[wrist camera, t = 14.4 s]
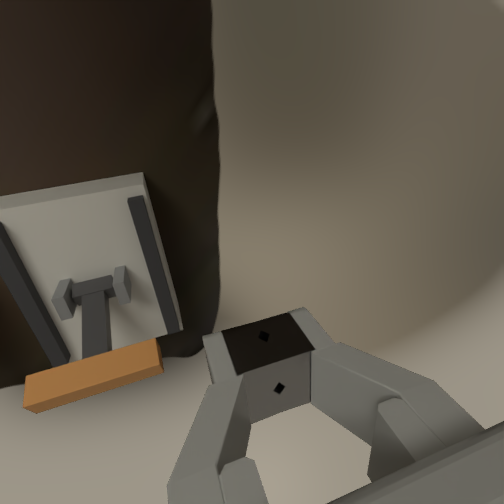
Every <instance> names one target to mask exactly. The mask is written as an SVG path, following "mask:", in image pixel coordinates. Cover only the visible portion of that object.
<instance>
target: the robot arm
mask: <svg viewBox="0 0 504 504" xmlns="http://www.w3.org/2000/svg"><path fill="white" fill-rule="evenodd" d="M202 337H203V343H204V348H205V353H206V358H207V362H208V367H209V371H210V376H211V381H212V385H209V386H208V389H207V391H206V394H205V396H204V398H203V401H202V403H201V405H200V408H199V410H198V412H197V415H196V417H195V420H194V422H193V425H192V427H191V429H190V432H189V434H188V436H187V439H186V441H185V443H184V446H183V448H182V451H181V453H180V455H179V458H178V460H177V463H176V465H175V467H174V470H173V472H172V474H171V477H170V479H169V481H168V484H167V493H168V504H268V501H267V497H266V494H265V491H264V489H263V486H262V482H261V480H260V476H259V473H258V470H257V467H256V464H255V462H254V460H252V459H249V458H247V457H245V456H246V450H247V446H248V440H249V435H250V430H251V424H253V423H255V422H258V421H260V420H263V419H265V418H268V417H270V416H273V415H275V414H277V413H280V412H283V411H286V410H288V409H292V408H295V407H298V406H301V405H303V404H306V403H309V402H311V404H312V405H314V406H315V407H317V408H318V409H319V410H321V411H322V412H324V413H325V414H326V415H328V416H329V417H331V418H332V419H333V420H335V421H336V422H338V423H339V424H341V425H342V426H344V427H345V428H346V429H348V430H349V431H350V432H352V433H353V434H355V435H356V436H358V437H359V438H360V439H362V440H364V441H365V442H367V443H368V444H369V445H370V446H372V448H371V454H370V460H369V466H368V473H367V475H368V477H369V478H370V480H371V482H372V483H370V484H368V485H366V486H363V487H361V488H359V489H357V490H355V491H353V492H350V493H348V494H346V495H344V496H342V497H340V498H338V499H335V500H333V501H331V502H329V503H327V504H504V421H503V422H501V423H499V424H496V425H494V426H492V427H490V428H488V429H486V430H485V429H484V428H483V427H482V426H481V425H480V424H479V423H478V422H477V421H476V420H475V419H474V418H472V417H471V416H470V415H469V414H468V413H467V412H466V411H465V410H464V409H463V408H462V407H461V406H460V405H459V404H458V403H457V402H456V401H454V399H453V398H451V397H450V396H449V395H448V394H447V393H446V392H445V391H444V390H443V389H442V388H441V387H440V386H439V385H438V384H437V383H436V382H435V381H433V380H431V379H429V378H426V377H424V376H421V375H419V374H416V373H414V372H411V371H409V370H406V369H404V368H402V367H399V366H397V365H394V364H392V363H390V362H387V361H385V360H382V359H380V358H377V357H375V356H372V355H370V354H368V353H365V352H363V351H360V350H358V349H355V348H353V347H351V346H348V345H345V344H343V343H341V342H340V343H337V344H335V343H334V342H333V341H332V339H331V338H330V337H329V336H328V334H327V333H326V332H325V331H324V329H323V328H322V327H321V326H320V325H319V323H318V322H317V321H316V320H315V318H314V317H313V316H312V315H311V314H310V312H309V311H308V310H307V309H306V308H304V307H302V308H299V309H295V310H292V311H289V312H287V313H284V314H280V315H277V316H273V317H270V318H266V319H263V320H260V321H256V322H253V323H249V324H245V325H242V326H238V327H234V328H230V329H226V330H222V331H221V332H217V333H212V334H209V335H205V336H202Z"/></svg>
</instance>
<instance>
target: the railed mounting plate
mask: <svg viewBox="0 0 504 504" xmlns="http://www.w3.org/2000/svg"><path fill="white" fill-rule="evenodd" d="M127 203H128V206H129V209H130V212H131V216H132V219H133V222H134V226H135V229H136V232H137V235H138V239H139V242H140V245H141V248H142V252H143V255H144V258H145V261H146V265H147V268H148V271H149V274H150V278H151V281H152V284H153V287H154V291H155V294H156V297H157V300H158V304H159V307H160V310H161V313H162V317H163V320H164V323H165V326H166V330H167V333H168V335H169V334H172V333H176V332H179V331H180V327H179V322H178V319H177V315H176V311H175V308H174V304H173V301H172V297H171V294H170V290H169V286H168V283H167V279H166V276H165V272H164V269H163V265H162V261H161V258H160V254H159V251H158V247H157V244H156V240H155V236H154V233H153V229H152V226H151V222H150V219H149V215H148V211H147V208H146V204H145V201H144V197H143V195H140V196H135V197H129V198H128V200H127ZM0 275H1V277H2V278H3V280H4V282H5V284H6V285H7V287H8V289H9V291H10V292H11V294H12V296H13V298H14V299H15V301H16V303H17V305H18V306H19V308H20V310H21V312H22V313H23V315H24V317H25V319H26V320H27V322H28V324H29V326H30V327H31V329H32V331H33V333H34V334H35V336H36V338H37V339H38V341H39V343H40V345H41V346H42V348H43V350H44V352H45V353H46V355H47V357H48V359H49V360H50V362H51V364H52V366H53V367H54V368H55V367H58V366H62V365H65V364H68V363H69V360H70V357H71V354H70V352H69V351H68V349H67V347H66V345H65V343H64V341H63V339H62V337H61V335H60V333H59V331H58V329H57V328H56V326H55V324H54V322H53V320H52V318H51V316H50V314H49V312H48V310H47V308H46V306H45V305H44V303H43V301H42V299H41V297H40V295H39V293H38V291H37V289H36V287H35V285H34V283H33V282H32V280H31V278H30V276H29V274H28V272H27V270H26V268H25V266H24V264H23V262H22V260H21V259H20V257H19V255H18V253H17V251H16V249H15V247H14V245H13V243H12V241H11V239H10V238H9V236H8V234H7V232H6V230H5V228H4V226H3V224H2V222H0Z"/></svg>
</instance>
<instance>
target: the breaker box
mask: <svg viewBox="0 0 504 504" xmlns="http://www.w3.org/2000/svg"><path fill="white" fill-rule="evenodd" d="M140 195H143V197H144V201H145V204H146V208H147V211H148V215H149V219H150V222H151V226H152V229H153V233H154V236H155V240H156V244H157V247H158V251H159V254H160V258H161V261H162V265H163V269H164V272H165V276H166V279H167V283H168V286H169V290H170V294H171V297H172V301H173V304H174V308H175V311H176V315H177V319H178V322H179V327H180V330H183V326H182V321H181V315H180V310H179V305H178V300H177V297H176V293H175V289H174V286H173V282H172V278H171V275H170V271H169V267H168V263H167V260H166V256H165V252H164V249H163V245H162V241H161V238H160V234H159V230H158V227H157V223H156V219H155V215H154V212H153V208H152V204H151V201H150V197H149V193H148V190H147V186H146V182H145V178H144V175H143V172H140V173H134V174H129V175H123V176H117V177H111V178H105V179H99V180H94V181H88V182H82V183H76V184H70V185H64V186H58V187H53V188H47V189H41V190H35V191H29V192H23V193H17V194H12V195H6V196H0V222H2V224H3V226H4V228H5V230H6V232H7V234H8V236H9V238H10V239H11V241H12V243H13V245H14V247H15V249H16V251H17V253H18V255H19V257H20V259H21V260H22V262H23V264H24V266H25V268H26V270H27V272H28V274H29V276H30V278H31V280H32V282H33V283H34V285H35V287H36V289H37V291H38V293H39V295H40V297H41V299H42V301H43V303H44V305H45V306H46V308H47V310H48V312H49V314H50V316H51V318H52V320H53V322H54V324H55V326H56V328H57V329H58V331H59V333H60V335H61V337H62V339H63V341H64V343H65V345H66V347H67V349H68V351H69V352H70V354H71V357H70V360H69V363H71V362H74V361H78V360H81V359H82V305H81V306H79V305H78V304H77V303H76V302H75V301H74V299H73V298H72V284H74V283H78V282H83V281H87V280H91V279H95V278H99V277H103V276H107V275H112V277H113V283H112V286H113V288H114V291H115V293H116V297H112V298H109V309H110V324H111V339H112V350H115V349H119V348H122V347H125V346H129V345H132V344H136V343H139V342H142V341H146V340H149V339H152V338H156V337H159V336H163V335H166V334H168V333H167V330H166V326H165V323H164V320H163V317H162V313H161V310H160V307H159V304H158V300H157V297H156V294H155V291H154V287H153V284H152V281H151V278H150V274H149V271H148V268H147V265H146V261H145V258H144V255H143V252H142V248H141V245H140V242H139V239H138V235H137V232H136V229H135V226H134V222H133V219H132V216H131V212H130V209H129V206H128V203H127V200H128V198H129V197H135V196H140Z"/></svg>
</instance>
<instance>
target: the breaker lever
mask: <svg viewBox="0 0 504 504" xmlns="http://www.w3.org/2000/svg"><path fill="white" fill-rule="evenodd" d="M112 283H113V277H112V275H107V276H103V277H99V278H95V279H91V280H87V281H83V282H78V283H74V284H72V298H73V299H74V301H75V302H76V303H77V304H78V305H79V306H81V305H82V360H79V361H75V362H72V363H68V364H65V365H62V366H58V367H55V368H51V369H48V370H45V371H41V372H38V373H34V374H31V375H28V376H26V381H25V390H24V401H23V408H25V409H27V410H29V411H32V412H34V413H36V414H37V413H40V412H43V411H46V410H49V409H52V408H55V407H58V406H62V405H65V404H68V403H71V402H74V401H77V400H80V399H83V398H86V397H89V396H92V395H96V394H99V393H102V392H105V391H108V390H111V389H114V388H117V387H120V386H123V385H127V384H130V383H133V382H136V381H139V380H142V379H145V378H148V377H152V376H154V375H157V374H161V373H163V372H164V368H163V362H162V356H161V350H160V346H159V344H158V342H157V340H156V338H153V339H150V340H146V341H143V342H140V343H136V344H133V345H129V346H126V347H123V348H119V349H116V350H112V339H111V324H110V309H109V298H112V297H116V293H115V291H114V288H113V286H112Z"/></svg>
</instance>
